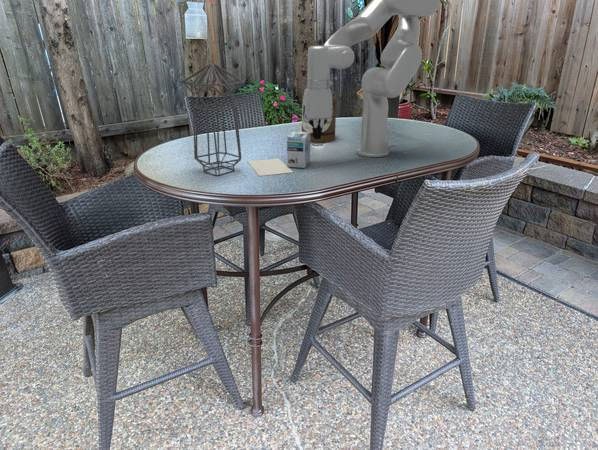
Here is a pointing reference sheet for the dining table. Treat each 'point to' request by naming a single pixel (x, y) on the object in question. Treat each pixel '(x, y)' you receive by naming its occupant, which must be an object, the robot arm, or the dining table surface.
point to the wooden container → (327, 129)
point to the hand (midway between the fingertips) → (317, 138)
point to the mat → (269, 167)
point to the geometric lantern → (218, 71)
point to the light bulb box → (298, 149)
